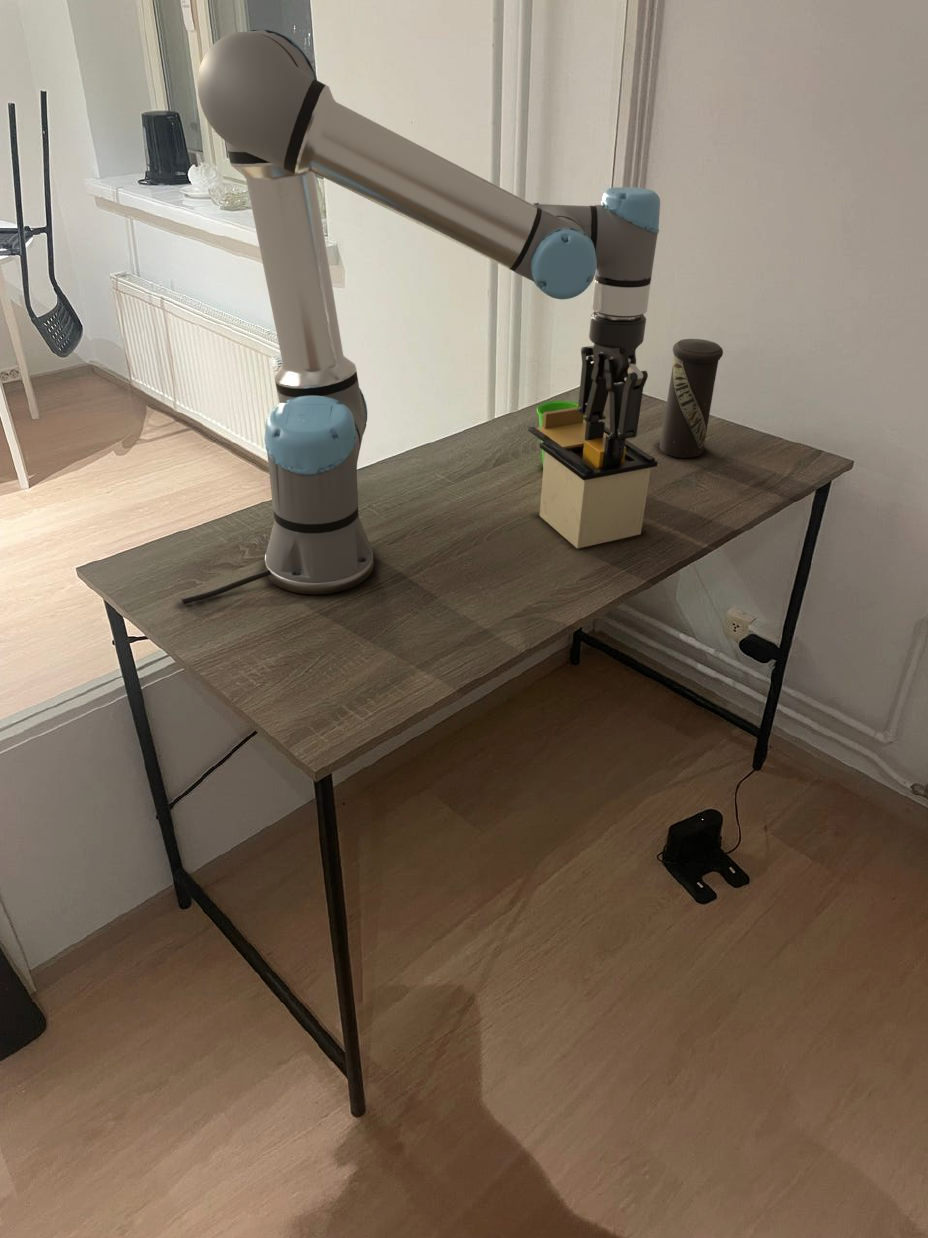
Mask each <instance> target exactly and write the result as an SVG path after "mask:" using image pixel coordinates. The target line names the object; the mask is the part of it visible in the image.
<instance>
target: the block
mask: <svg viewBox="0 0 928 1238" xmlns="http://www.w3.org/2000/svg"><path fill="white" fill-rule="evenodd" d="M605 441H606V437H603V438H598V439H593V440H587V441H584V449H583V460H585V461H586V462H587V463H589V464H590V465H591V466H593V467H594V468H598V467H603V459H604V449H605ZM625 451H626V447H625V446H624V452H623V458H622V459H621V463H624V460H625Z"/></svg>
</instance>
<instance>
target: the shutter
mask: <svg viewBox="0 0 928 1238" xmlns="http://www.w3.org/2000/svg"><path fill="white" fill-rule="evenodd" d="M583 418H584V415H583V414H580V413H579V412H578V407H574V408H568V409H561V410H555V411H549V412H543V423H542V427H540V426H538V427H536V428H537V429H538V430H539V431H541V432H542V433H544V434H545V435H546V436H548V437H549V438H550V439H552V440H553V441H555V442H556V443H557V444H559V445H560V446H561V447H563V448H564V449H568V448H573V447H579V446H584V441H585V429H586V422H585V420H583ZM606 435H608V434H606V433H604V436H603V437H606Z"/></svg>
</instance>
